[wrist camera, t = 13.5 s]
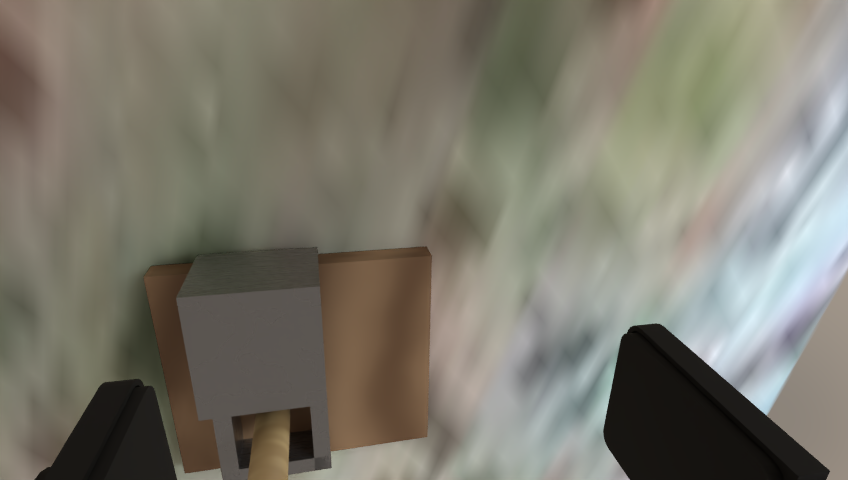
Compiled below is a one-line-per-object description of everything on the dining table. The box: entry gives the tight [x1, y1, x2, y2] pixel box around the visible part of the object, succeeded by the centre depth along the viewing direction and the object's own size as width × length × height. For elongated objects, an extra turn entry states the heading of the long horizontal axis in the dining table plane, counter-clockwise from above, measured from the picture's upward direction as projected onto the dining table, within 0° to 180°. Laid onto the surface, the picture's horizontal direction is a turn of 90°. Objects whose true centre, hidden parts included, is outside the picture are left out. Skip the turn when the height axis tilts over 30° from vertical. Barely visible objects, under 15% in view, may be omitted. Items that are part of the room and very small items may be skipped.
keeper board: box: [144, 247, 432, 480], centre depth 29 cm, size 16×14×8 cm
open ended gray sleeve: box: [176, 247, 332, 480], centre depth 28 cm, size 14×6×5 cm, turn 179°
